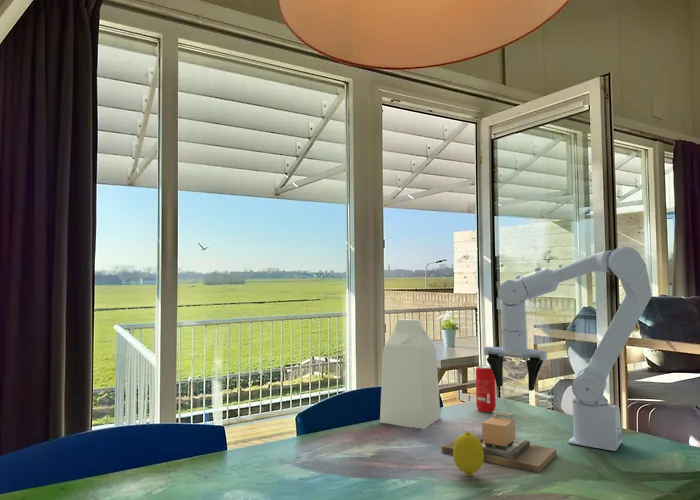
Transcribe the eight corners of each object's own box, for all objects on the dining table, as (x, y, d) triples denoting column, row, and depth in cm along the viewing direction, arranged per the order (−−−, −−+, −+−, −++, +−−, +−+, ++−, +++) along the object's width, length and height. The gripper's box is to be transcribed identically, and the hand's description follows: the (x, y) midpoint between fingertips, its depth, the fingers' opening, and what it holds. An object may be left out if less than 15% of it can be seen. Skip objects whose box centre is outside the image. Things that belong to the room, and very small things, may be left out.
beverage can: (472, 409, 144) (471, 366, 144) (487, 407, 146) (486, 364, 146) (484, 413, 139) (483, 368, 140) (499, 411, 141) (498, 367, 142)
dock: (556, 455, 105) (556, 444, 105) (538, 472, 96) (538, 460, 96) (465, 438, 117) (465, 428, 117) (441, 452, 108) (441, 441, 108)
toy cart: (493, 440, 111) (492, 410, 111) (515, 444, 108) (514, 413, 108) (482, 448, 106) (482, 416, 106) (505, 452, 103) (504, 419, 104)
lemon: (482, 483, 91) (481, 437, 91) (451, 479, 93) (450, 434, 93) (485, 472, 96) (484, 429, 97) (455, 469, 98) (455, 426, 98)
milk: (440, 418, 135) (438, 319, 136) (423, 429, 125) (421, 322, 126) (399, 412, 141) (398, 317, 142) (379, 422, 131) (378, 320, 133)
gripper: (478, 330, 124) (479, 387, 123) (539, 333, 115) (541, 394, 114) (489, 328, 129) (490, 382, 129) (548, 331, 121) (550, 389, 120)
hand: (515, 388), depth 122 cm, fingers open, 7 cm apart
